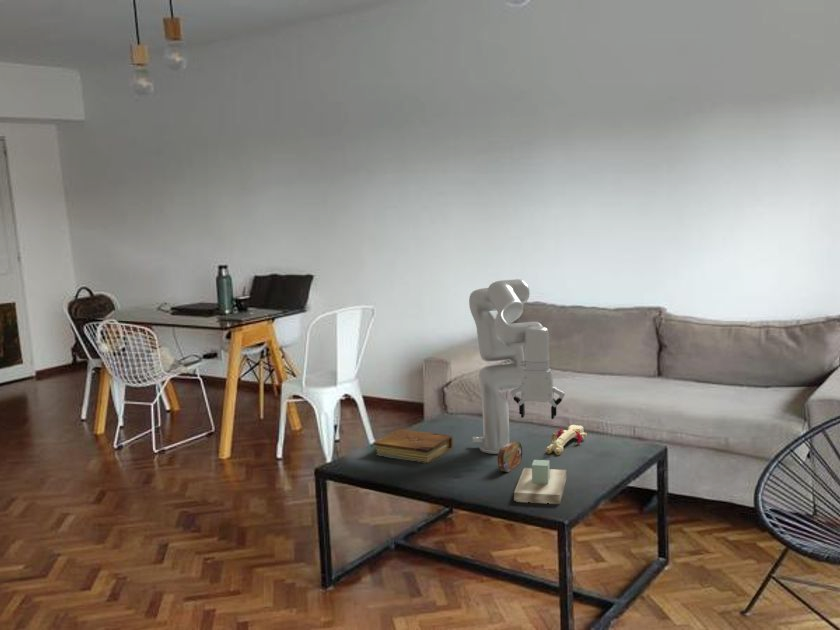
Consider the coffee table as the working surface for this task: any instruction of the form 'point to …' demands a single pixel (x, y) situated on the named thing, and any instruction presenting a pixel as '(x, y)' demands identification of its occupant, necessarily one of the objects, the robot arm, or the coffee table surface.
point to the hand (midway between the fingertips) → (537, 417)
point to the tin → (509, 456)
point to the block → (541, 471)
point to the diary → (414, 445)
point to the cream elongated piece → (565, 438)
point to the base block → (540, 488)
